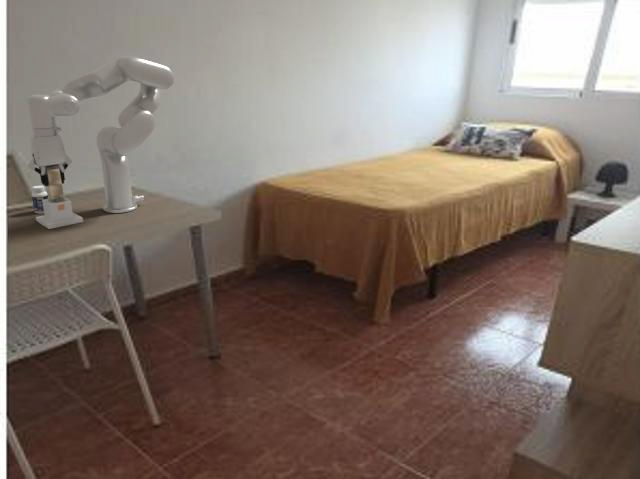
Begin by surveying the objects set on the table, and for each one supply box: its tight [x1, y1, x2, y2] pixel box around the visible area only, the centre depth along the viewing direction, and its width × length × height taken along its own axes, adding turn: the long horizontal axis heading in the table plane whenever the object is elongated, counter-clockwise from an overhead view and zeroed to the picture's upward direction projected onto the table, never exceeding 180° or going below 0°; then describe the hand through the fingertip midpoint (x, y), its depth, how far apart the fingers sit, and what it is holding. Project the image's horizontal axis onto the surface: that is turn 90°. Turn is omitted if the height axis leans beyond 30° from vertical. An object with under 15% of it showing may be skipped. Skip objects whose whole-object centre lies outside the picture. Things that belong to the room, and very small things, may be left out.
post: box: [45, 165, 65, 203], centre depth 189 cm, size 4×4×14 cm
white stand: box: [35, 196, 84, 230], centre depth 192 cm, size 12×12×9 cm
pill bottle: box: [31, 185, 48, 214], centre depth 202 cm, size 5×5×10 cm
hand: (53, 183), depth 188 cm, fingers open, 4 cm apart
